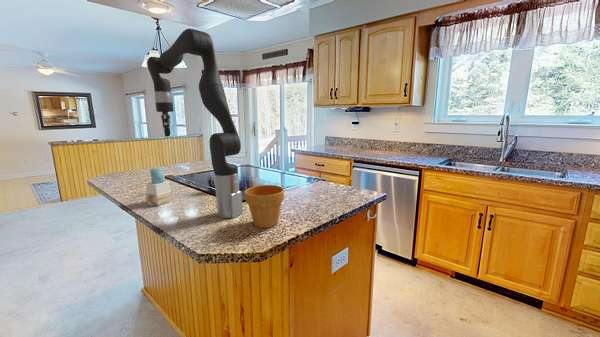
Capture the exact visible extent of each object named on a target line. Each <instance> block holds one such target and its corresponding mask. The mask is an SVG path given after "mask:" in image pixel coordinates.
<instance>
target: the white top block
mask: <svg viewBox="0 0 600 337" xmlns="http://www.w3.org/2000/svg"><path fill="white" fill-rule="evenodd" d="M145 185H146V192H147V193H146V194H151V195H156V196H158V195H162V194H165V193H168V192H171V182H170V180H164V182H163V183H159V184H152V181H150V182H147V183H145Z"/></svg>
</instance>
